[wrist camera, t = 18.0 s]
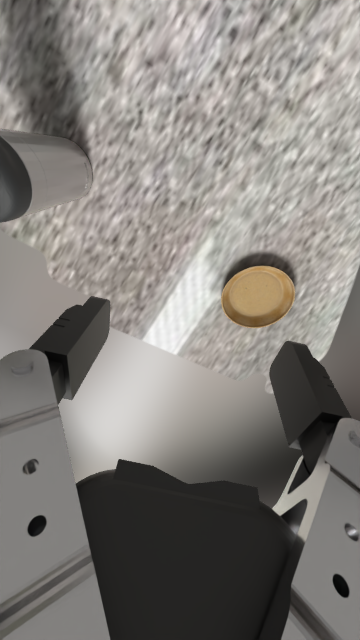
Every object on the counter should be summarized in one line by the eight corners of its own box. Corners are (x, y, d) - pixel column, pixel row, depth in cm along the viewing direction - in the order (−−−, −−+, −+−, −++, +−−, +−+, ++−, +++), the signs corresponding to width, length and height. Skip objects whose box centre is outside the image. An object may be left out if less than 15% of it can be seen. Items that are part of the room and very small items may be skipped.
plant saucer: (211, 311, 55) (211, 318, 53) (236, 252, 46) (237, 256, 44) (271, 328, 56) (273, 335, 54) (305, 272, 47) (310, 278, 45)
